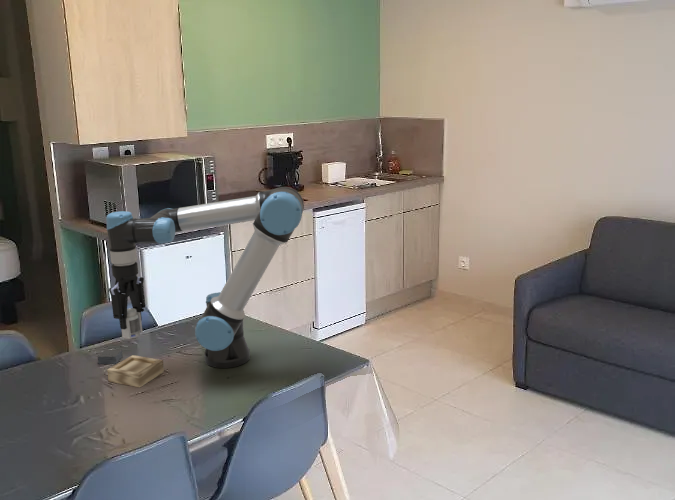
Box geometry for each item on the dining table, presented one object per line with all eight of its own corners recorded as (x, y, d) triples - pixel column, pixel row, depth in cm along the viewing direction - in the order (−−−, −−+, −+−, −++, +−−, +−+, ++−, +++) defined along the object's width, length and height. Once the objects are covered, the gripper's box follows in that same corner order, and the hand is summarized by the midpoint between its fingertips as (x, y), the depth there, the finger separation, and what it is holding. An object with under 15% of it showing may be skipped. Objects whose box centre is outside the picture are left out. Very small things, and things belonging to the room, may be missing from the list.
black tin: (122, 357, 220) (121, 349, 219) (116, 365, 214) (115, 356, 213) (105, 357, 220) (104, 349, 219) (98, 365, 214) (97, 356, 213)
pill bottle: (142, 332, 203) (140, 307, 201) (136, 338, 198) (133, 312, 196) (128, 332, 203) (125, 307, 201) (121, 338, 199) (118, 312, 197)
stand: (163, 371, 208) (163, 360, 207) (139, 387, 197) (138, 375, 196) (133, 366, 212) (132, 355, 211) (108, 381, 201) (107, 369, 200)
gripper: (133, 254, 204) (141, 323, 210) (93, 269, 188) (103, 343, 194) (152, 256, 202) (160, 326, 207) (114, 271, 186) (123, 346, 191)
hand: (132, 334), depth 201 cm, fingers closed on pill bottle, 5 cm apart
